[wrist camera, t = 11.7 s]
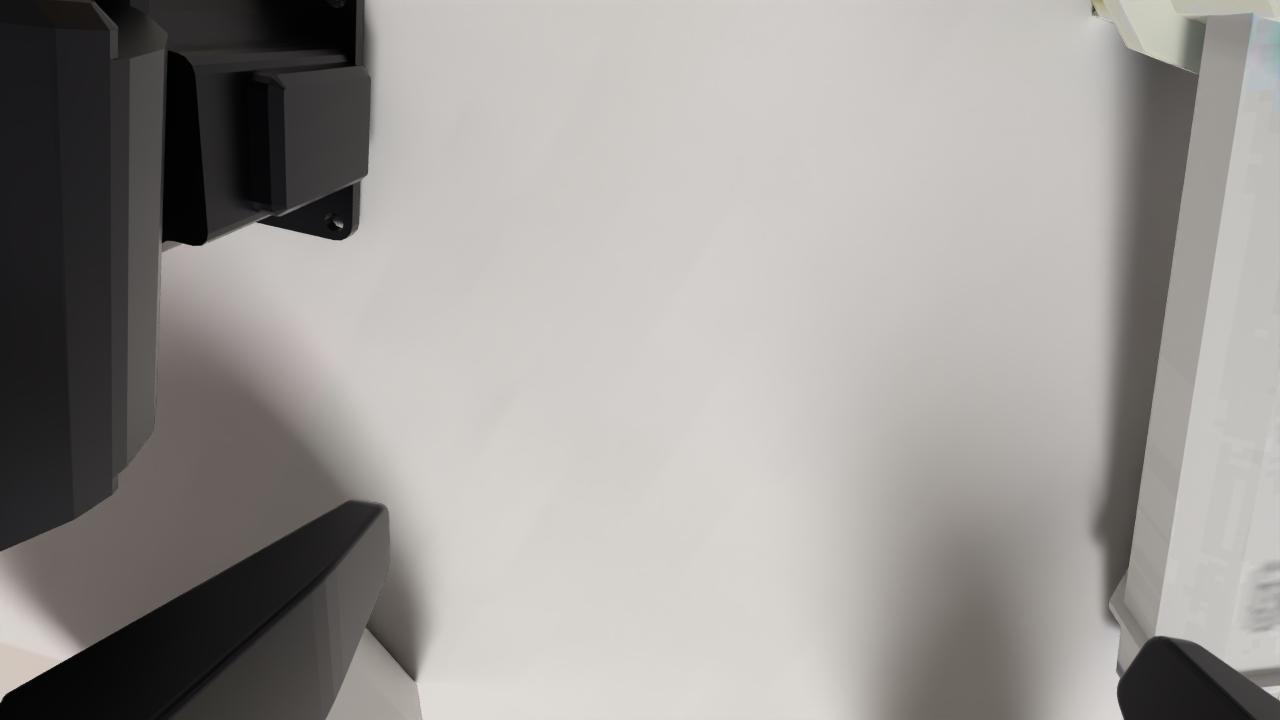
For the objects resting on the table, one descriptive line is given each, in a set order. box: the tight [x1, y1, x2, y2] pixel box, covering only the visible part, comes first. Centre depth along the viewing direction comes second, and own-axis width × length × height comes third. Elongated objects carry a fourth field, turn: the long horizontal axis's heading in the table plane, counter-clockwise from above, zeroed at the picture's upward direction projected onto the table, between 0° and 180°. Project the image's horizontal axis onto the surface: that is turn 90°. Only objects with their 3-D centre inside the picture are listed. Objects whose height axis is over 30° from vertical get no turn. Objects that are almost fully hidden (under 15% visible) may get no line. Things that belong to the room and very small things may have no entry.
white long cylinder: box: [1091, 0, 1280, 700], centre depth 16 cm, size 5×7×25 cm
